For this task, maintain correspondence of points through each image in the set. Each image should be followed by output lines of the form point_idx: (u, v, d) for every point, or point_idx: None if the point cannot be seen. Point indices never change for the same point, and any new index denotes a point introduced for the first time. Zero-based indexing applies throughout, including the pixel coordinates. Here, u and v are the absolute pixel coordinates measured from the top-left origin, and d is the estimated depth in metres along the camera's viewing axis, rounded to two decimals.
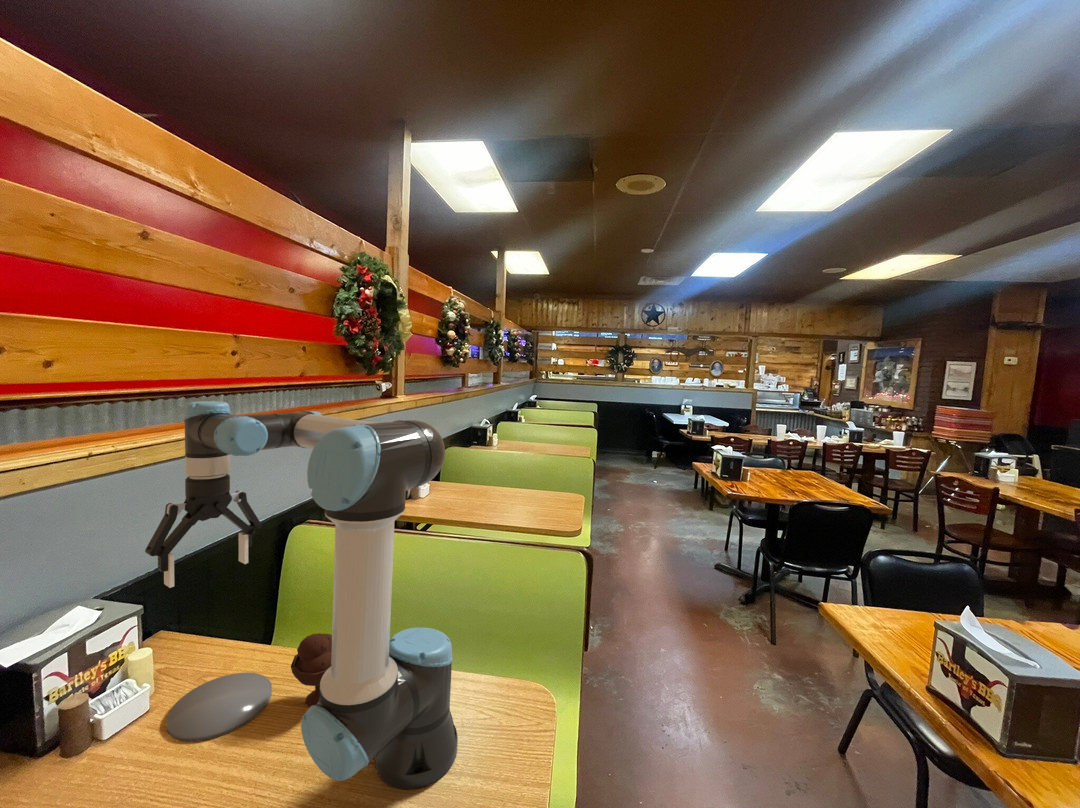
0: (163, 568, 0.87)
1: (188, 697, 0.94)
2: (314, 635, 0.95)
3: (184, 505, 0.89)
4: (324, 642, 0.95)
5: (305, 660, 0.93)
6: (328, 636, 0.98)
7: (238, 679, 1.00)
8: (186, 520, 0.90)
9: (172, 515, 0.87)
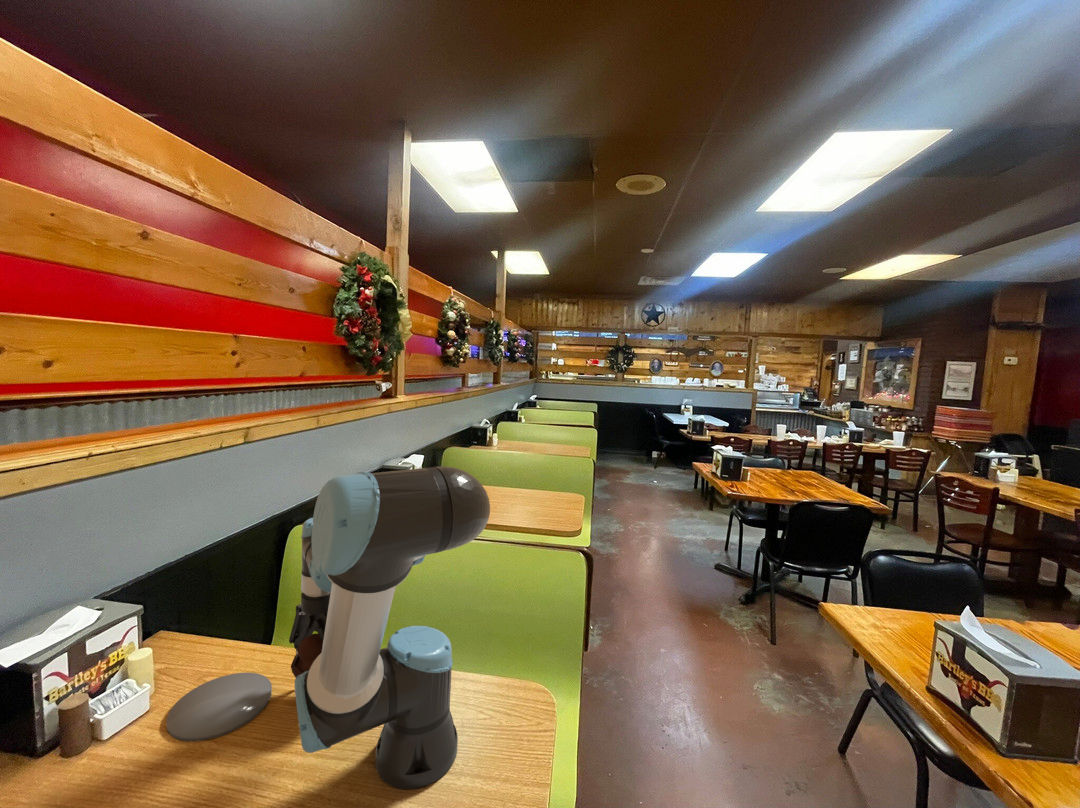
0: None
1: (188, 697, 0.94)
2: (314, 635, 0.95)
3: None
4: None
5: (305, 660, 0.93)
6: None
7: (238, 679, 1.00)
8: None
9: (296, 614, 0.98)
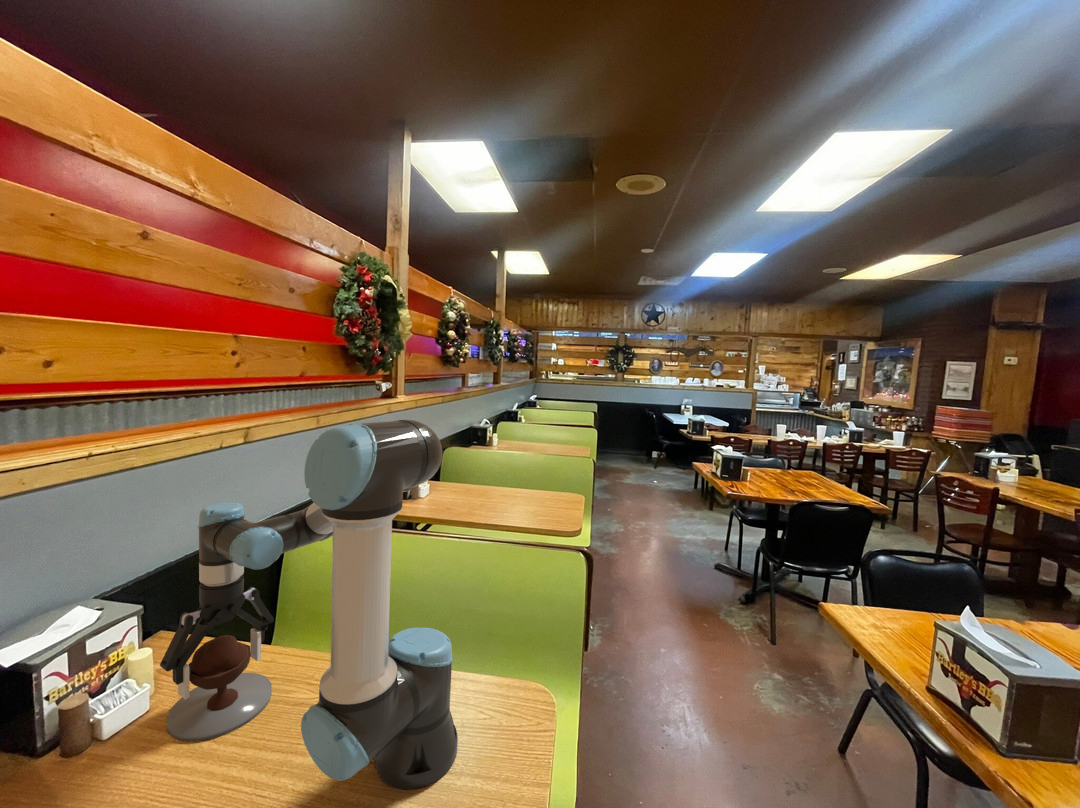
0: (178, 681, 0.85)
1: None
2: (219, 638, 0.91)
3: (199, 613, 0.88)
4: (230, 635, 0.93)
5: (231, 657, 0.91)
6: None
7: (238, 679, 1.00)
8: (201, 628, 0.88)
9: (187, 626, 0.86)
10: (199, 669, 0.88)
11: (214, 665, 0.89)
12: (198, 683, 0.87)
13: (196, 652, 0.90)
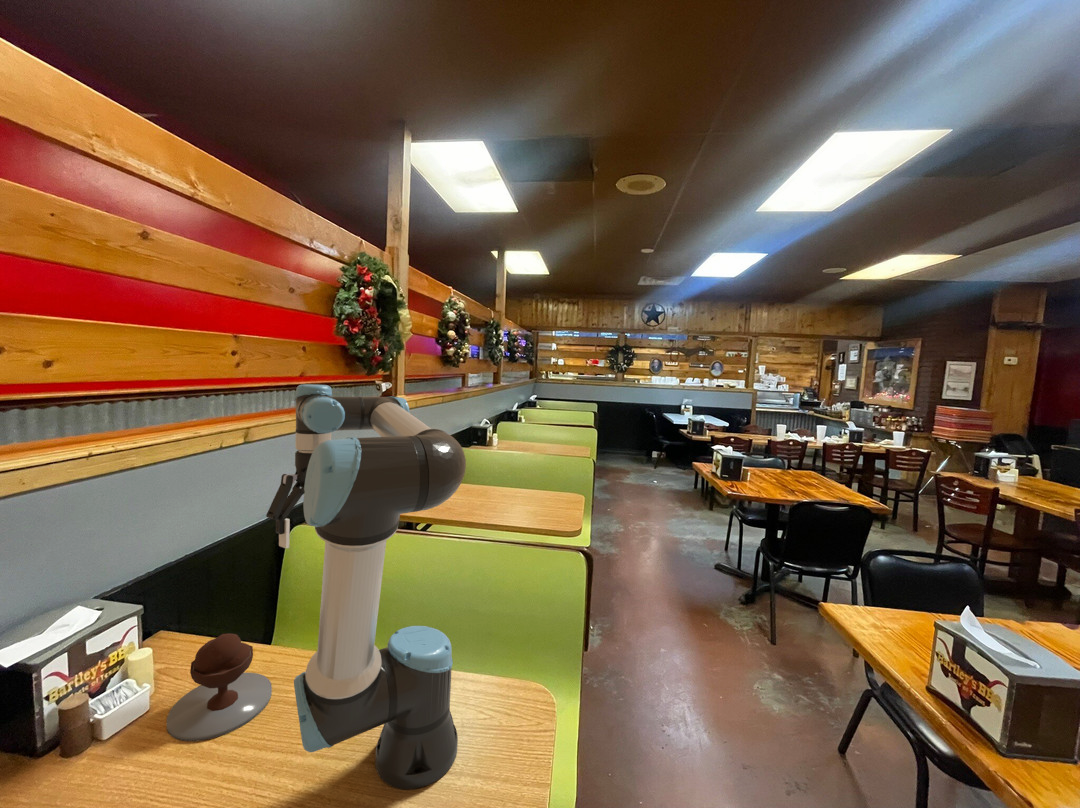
0: (281, 531, 0.98)
1: (188, 697, 0.94)
2: (223, 636, 0.92)
3: (296, 476, 1.00)
4: None
5: (235, 656, 0.91)
6: None
7: (238, 679, 1.00)
8: (297, 490, 1.01)
9: (289, 484, 0.98)
10: (202, 666, 0.89)
11: (217, 663, 0.89)
12: (201, 680, 0.88)
13: (200, 650, 0.91)
